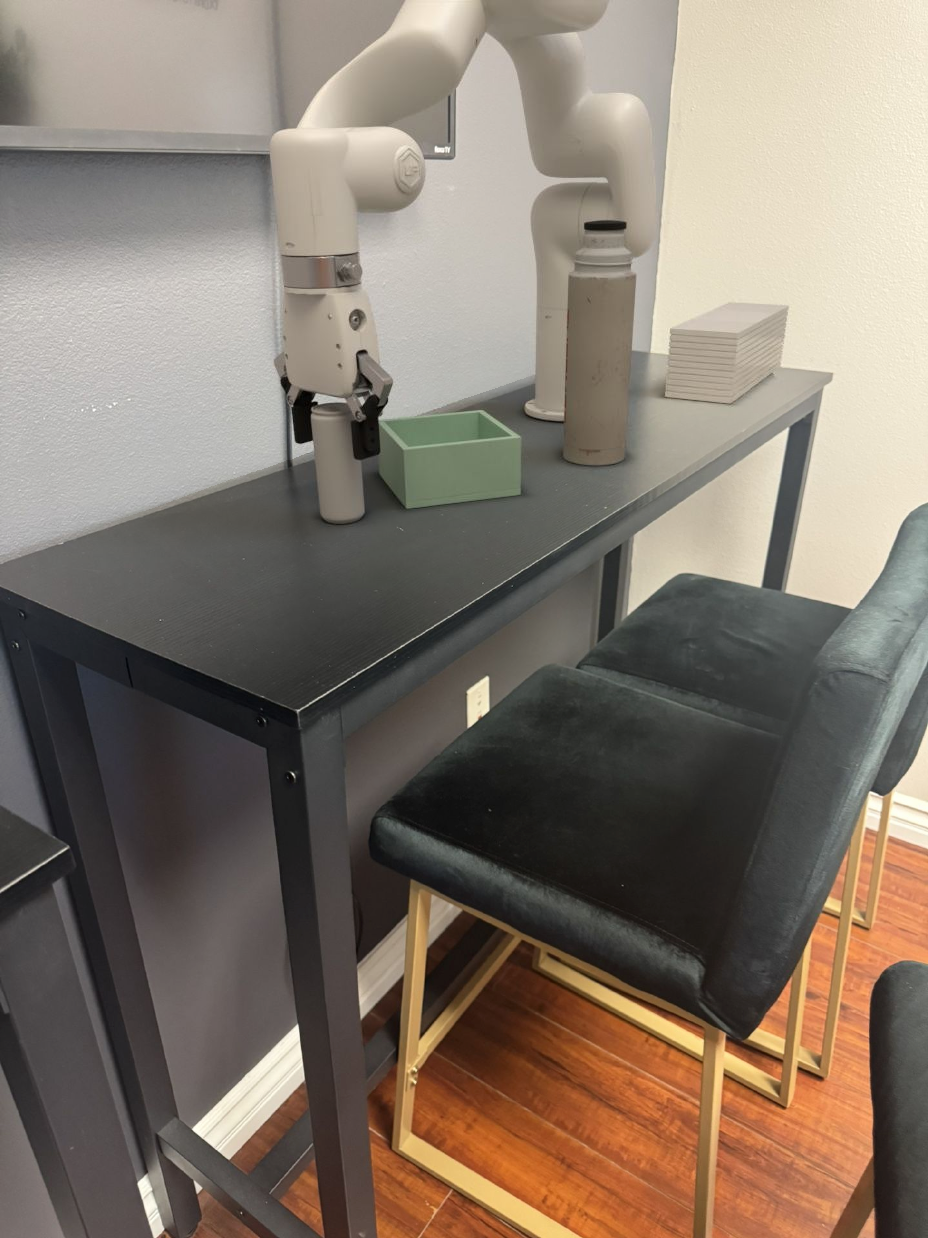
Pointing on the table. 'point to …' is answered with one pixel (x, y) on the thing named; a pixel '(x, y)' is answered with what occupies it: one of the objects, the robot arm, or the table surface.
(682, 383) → the stack of papers
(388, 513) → the table surface
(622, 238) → the thermos bottle
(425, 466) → the open box
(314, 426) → the beverage can
